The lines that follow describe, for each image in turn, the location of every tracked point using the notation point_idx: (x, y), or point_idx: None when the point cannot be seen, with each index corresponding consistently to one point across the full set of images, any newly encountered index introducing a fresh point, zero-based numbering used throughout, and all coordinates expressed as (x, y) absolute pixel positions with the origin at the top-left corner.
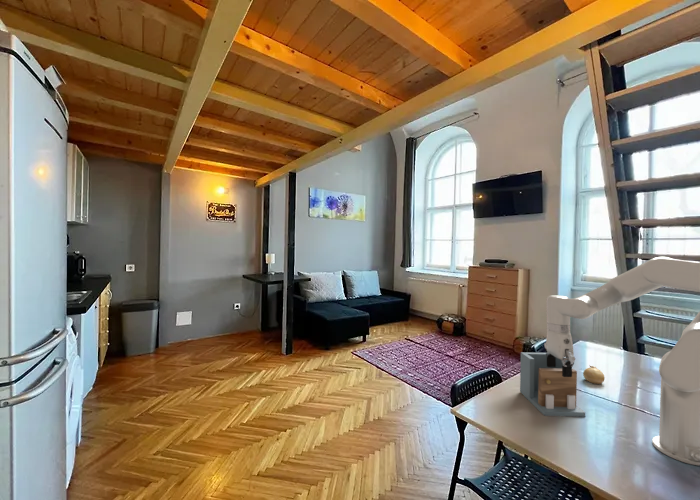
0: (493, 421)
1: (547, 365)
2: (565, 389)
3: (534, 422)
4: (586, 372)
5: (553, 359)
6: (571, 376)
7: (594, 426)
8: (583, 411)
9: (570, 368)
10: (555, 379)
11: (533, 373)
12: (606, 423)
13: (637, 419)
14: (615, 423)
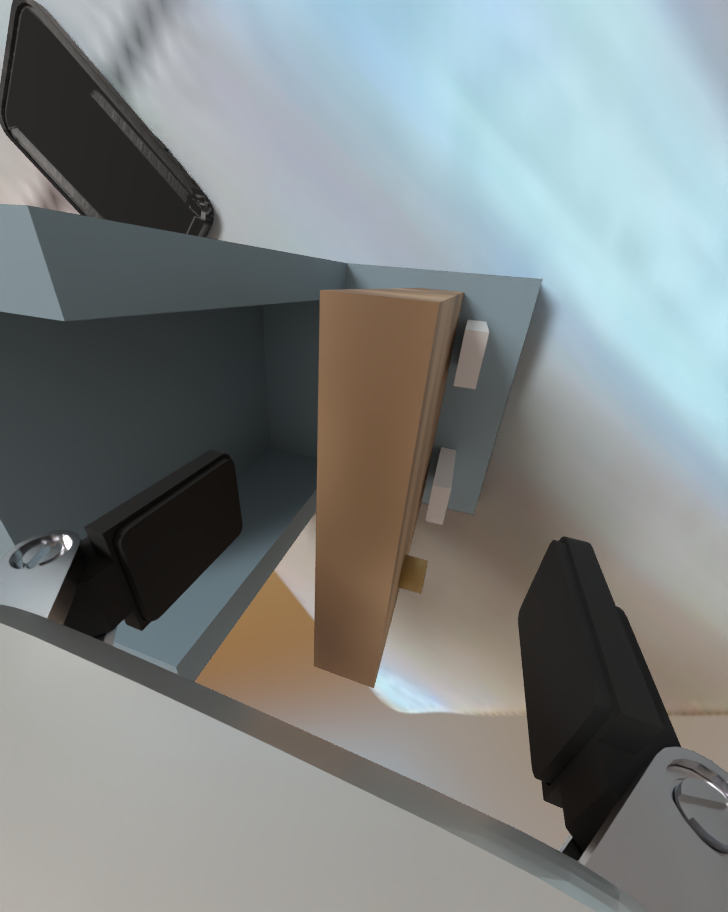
0: (474, 679)
1: (228, 539)
2: (437, 402)
3: (516, 577)
4: None
5: (158, 542)
6: (587, 548)
7: (658, 316)
8: (526, 282)
9: (672, 740)
10: (409, 526)
11: (267, 556)
12: (667, 177)
13: None
14: (703, 76)
